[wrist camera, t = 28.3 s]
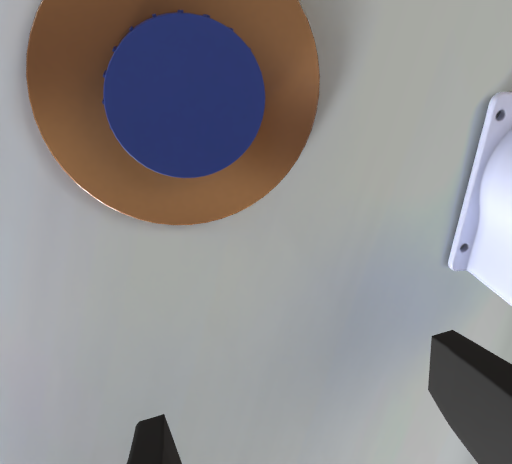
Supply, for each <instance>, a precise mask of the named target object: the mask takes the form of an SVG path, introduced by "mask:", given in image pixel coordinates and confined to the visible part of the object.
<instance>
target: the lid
mask: <svg viewBox="0 0 512 464" xmlns="http://www.w3.org/2000/svg"><path fill="white" fill-rule="evenodd" d="M177 11H178V12H175V13H166V14H161V15H157V16H156V14H152V16H153V17H152V18H149V19H147V20H145V21H143V22H142V23H140V24H138V25H137V26H136V27H134V28H133V27H132V26H131V27H130V28H129V30H130V31H129V32H128V34H127V35H126V36H125V37H124V38H123V39H122V40H121V42H120V43H119V45H118V46H117V47H116V46H114V48H113V50H112V52H114V53H113V55H112V58H111V60H110V62H109V64H108V68H107V70H105V72H104V74H103V77H104V78H105V80H104V91H103V97H104V98H103V101H102V103H103V104H104V107H105V111H106V116H107V119H108V122H109V125H110V129H111V130H112V131H113V133H114V135H115V137H116V139H117V140H118V141H119V143H120V144H121V146H122V147H123V148H124V149H125V151H127V153H128V154H129V155H130V156H132V157H133V158H134V159H135V160H136V161H137V162H139V163H140V164H142V165H143V166H145V167H147V168H149V169H151V170H153V171H155V172H157V173H160V174H163V175H167V176H171V177H177V178H196V177H203V176H207V175H210V174H213V173H216V172H218V171H220V170H222V169H224V168H226V167H228V166H229V165H231V164H232V163H233V162H235V161H236V160H237V159H238V158H239V157H241V156H242V155H243V154H244V153H245V151H246V150H247V149H248V148H249V146H250V145H251V144H252V142H253V140H254V139H255V137H256V135H257V133H258V131H259V128H260V126H261V122H262V119H263V115H264V109H265V87H264V81H263V76H262V72H261V70H260V67H259V65H258V63H257V61H256V58H255V56H254V55H253V53H252V52H251V48H250V47H248V46H247V45H246V44H245V42H244V41H243V40H242V39H241V38H240V37H239V36H238V35H237V34H236V33H235V32H234V31H233V30H234V29H232V28H230V27H227V26H225V25H224V24H222V23H220V22H218V21H216V20H214V19H211V18H210V15H206V14H203V16H202V15H197V14H192V13H183V10H177Z"/></svg>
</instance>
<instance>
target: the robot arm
mask: <svg viewBox="0 0 512 464" xmlns="http://www.w3.org/2000/svg"><path fill="white" fill-rule="evenodd" d="M498 111H500V114H499V116H498V117H497V118H496V114H497V112H498ZM463 244H464V245H463ZM462 245H463V247H461V246H462ZM448 266H449V267H450V268H451V269H452V270H454V271H464V270H468V271H469V272H470V273H471V274H473V275H474V276H475V277H476V278H478V279H479V280H480V281H481V282H483V283H484V284H485V285H486V286H488V287H489V288H490V289H491V290H493V291H494V292H495V293H496V294H498V295H499V296H500V297H501V298H503V299H504V300H505V301H506V302H508V303H509V304H510V305H511V306H512V92H498V93H496V94H495V95H494V96H493V97H492V98H491V100H490V103H489V106H488V110H487V114H486V118H485V122H484V126H483V129H482V133H481V137H480V141H479V145H478V149H477V152H476V156H475V160H474V164H473V168H472V172H471V176H470V179H469V183H468V187H467V191H466V195H465V199H464V203H463V206H462V210H461V214H460V218H459V222H458V226H457V229H456V233H455V237H454V241H453V245H452V249H451V253H450V256H449V260H448ZM428 390H429V392H430V394H431V395H432V397H433V399H434V401H435V402H436V404H437V406H438V407H439V409H440V411H441V412H442V414H443V416H444V417H445V419H446V421H447V422H448V424H449V425H450V427H451V428H452V430H453V431H454V432H455V434H456V435H457V436H458V438H459V439H460V440H461V442H462V443H463V444H464V446H465V447H466V448H467V450H468V451H469V452H470V453H471V455H472V456H473V457H474V459H475V460H476V461H477V463H478V464H512V364H510V363H508V362H507V361H505V360H503V359H502V358H500V357H498V356H496V355H495V354H493V353H491V352H490V351H488V350H486V349H484V348H483V347H481V346H479V345H478V344H476V343H474V342H473V341H471V340H469V339H467V338H466V337H464V336H462V335H461V334H459V333H457V332H455V331H453V330H451V331H447V332H444V333H440V334H437V335H434V336H432V341H431V356H430V371H429V386H428ZM127 464H182V463H181V460H180V457H179V454H178V452H177V449H176V446H175V443H174V440H173V438H172V435H171V432H170V429H169V426H168V424H167V421H166V418H165V415H160V416H157V417H153V418H150V419H146V420H143V421H140V422H139V423H138V424H137V425H136V428H135V433H134V438H133V442H132V446H131V450H130V454H129V458H128V462H127Z"/></svg>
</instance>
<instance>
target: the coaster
mask: <svg viewBox="0 0 512 464" xmlns="http://www.w3.org/2000/svg"><path fill="white" fill-rule="evenodd" d="M177 10H183V13H192V14H197V15H202V16H203V14H206V15H210V18H211V19H214V20H216V21H218V22H220V23H222V24H224V25H225V26H227V27H230V28H232V29H234V30H233V31H234V32H235V33H236V34H237V35H238V36H239V37H240V38H241V39H242V40H243V41H244V42H245V44H246V45H247V46H248V47H250V48H251V52H252V53H253V55H254V56H255V58H256V61H257V63H258V65H259V67H260V70H261V72H262V76H263V81H264V87H265V109H264V115H263V119H262V122H261V126H260V128H259V131H258V133H257V135H256V137H255V139H254V140H253V142H252V144H251V145H250V146H249V148H248V149H247V150H246V151H245V153H244V154H243V155H242V156H241V157H239V158H238V159H237V160H236V161H235V162H233V163H232V164H231V165H229V166H228V167H226V168H224V169H222V170H220V171H218V172H216V173H213V174H210V175H207V176H203V177H196V178H177V177H171V176H167V175H163V174H160V173H157V172H155V171H153V170H151V169H149V168H147V167H145V166H143V165H142V164H140V163H139V162H137V161H136V160H135V159H134V158H133V157H132V156H130V155H129V154H128V153H127V151H125V149H124V148H123V147H122V146H121V144H120V143H119V141H118V140H117V139H116V137H115V135H114V133H113V131H112V130H111V129H110V125H109V122H108V119H107V116H106V111H105V107H104V104H103V103H102V101H103V98H104V97H103V91H104V80H105V78H104V77H103V74H104V72H105V70H107V68H108V64H109V62H110V60H111V58H112V55H113V53H114V52H112V50H113V48H114V46H116V47H117V46H118V45H119V43H120V42H121V40H122V39H123V38H124V37H125V36H126V35H127V34H128V32H129V31H130V30H129V28H130V27H131V26H132V27H133V28H134V27H136V26H137V25H138V24H140V23H142V22H143V21H145V20H147V19H149V18H152V17H153V16H152V14H156V16H157V15H161V14H166V13H175V12H178V11H177ZM26 78H27V86H28V93H29V99H30V103H31V107H32V111H33V114H34V118H35V120H36V123H37V125H38V128H39V130H40V133H41V135H42V137H43V139H44V141H45V143H46V144H47V146H48V148H49V150H50V152H51V153H52V155H53V156H54V158H55V159H56V160H57V162H58V163H59V164H60V166H61V167H62V168H63V170H64V171H65V172H66V173H67V174H68V175H69V176H70V177H71V178H72V179H73V180H74V181H75V182H76V183H77V184H78V185H79V186H80V187H81V188H82V189H84V190H85V191H86V192H87V193H89V194H90V195H91V196H92V197H94V198H95V199H97V200H99V201H100V202H102V203H103V204H105V205H106V206H108V207H110V208H112V209H114V210H116V211H118V212H120V213H123V214H125V215H128V216H131V217H134V218H137V219H139V220H144V221H148V222H153V223H158V224H168V225H192V224H200V223H207V222H210V221H214V220H218V219H222V218H225V217H227V216H230V215H233V214H235V213H237V212H239V211H241V210H243V209H245V208H247V207H249V206H251V205H252V204H254V203H255V202H257V201H258V200H260V199H261V198H263V197H264V196H265V195H266V194H268V193H269V192H270V191H271V190H272V189H273V188H274V187H276V186H277V185H278V183H279V182H280V181H281V180H282V179H283V178H284V177H285V176H286V175H287V173H288V172H289V171H290V169H291V168H292V166H293V165H294V164H295V162H296V161H297V159H298V158H299V156H300V154H301V152H302V150H303V148H304V147H305V145H306V142H307V140H308V137H309V135H310V132H311V130H312V126H313V123H314V119H315V115H316V111H317V105H318V98H319V79H320V75H319V64H318V55H317V51H316V46H315V41H314V37H313V34H312V31H311V28H310V26H309V23H308V20H307V18H306V16H305V14H304V12H303V9H302V7H301V5H300V3H299V1H298V0H42V1H41V4H40V6H39V8H38V10H37V12H36V15H35V18H34V21H33V25H32V28H31V31H30V36H29V42H28V49H27V61H26Z"/></svg>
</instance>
